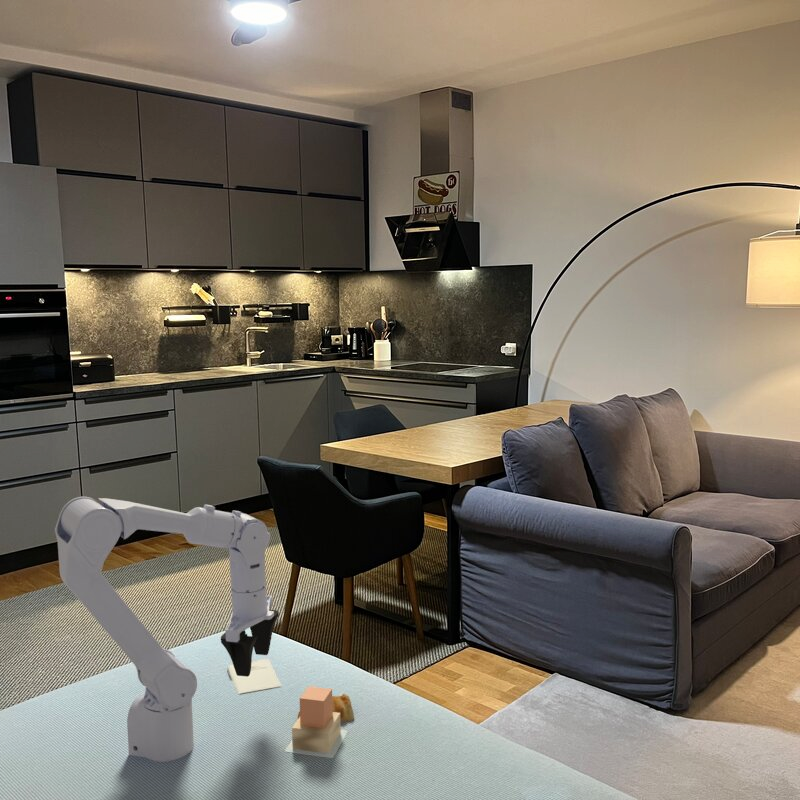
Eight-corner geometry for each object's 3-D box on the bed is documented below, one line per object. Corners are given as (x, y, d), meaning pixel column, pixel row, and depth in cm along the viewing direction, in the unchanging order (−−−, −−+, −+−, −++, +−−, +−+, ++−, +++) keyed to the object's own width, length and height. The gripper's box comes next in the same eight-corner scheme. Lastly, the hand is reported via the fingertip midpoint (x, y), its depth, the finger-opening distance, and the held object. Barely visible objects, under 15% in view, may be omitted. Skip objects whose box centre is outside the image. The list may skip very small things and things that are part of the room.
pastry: (302, 736, 130) (301, 714, 129) (294, 716, 136) (293, 695, 136) (357, 725, 133) (356, 704, 132) (346, 706, 139) (346, 686, 139)
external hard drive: (238, 702, 141) (227, 672, 153) (283, 694, 144) (269, 665, 156) (237, 693, 141) (227, 664, 153) (282, 685, 144) (269, 657, 156)
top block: (300, 725, 124) (299, 698, 124) (309, 712, 128) (308, 686, 128) (324, 728, 123) (323, 701, 123) (332, 715, 127) (332, 688, 127)
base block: (292, 748, 124) (292, 727, 124) (305, 728, 130) (305, 708, 129) (328, 753, 123) (328, 732, 122) (340, 733, 128) (340, 712, 128)
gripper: (253, 605, 122) (257, 687, 124) (287, 572, 136) (291, 647, 138) (211, 602, 124) (216, 683, 126) (249, 570, 138) (253, 643, 140)
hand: (252, 664), depth 132 cm, fingers open, 7 cm apart
